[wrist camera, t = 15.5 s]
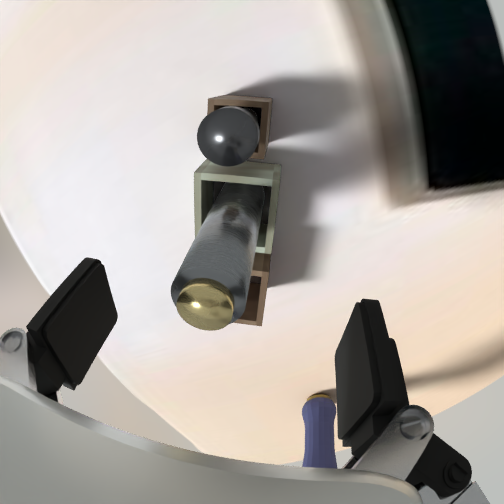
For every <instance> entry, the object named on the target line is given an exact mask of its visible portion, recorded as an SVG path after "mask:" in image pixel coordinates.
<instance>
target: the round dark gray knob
mask: <svg viewBox="0 0 504 504" xmlns="http://www.w3.org/2000/svg"><path fill="white" fill-rule="evenodd" d="M259 138H260V129H259V125H258V116H257V114H256V112H255V111H253V110H252V109H249V108H240V107H236V106H227V107H223V108H220V109H218V110H215V111H213V112H211V113H210V114H208V115H207V116H206V117H205V118H204V119H203V121H202V122H201V124H200V126H199V128H198V133H197V141H198V145H199V148H200V150H201V152H202V153H203V155H204V156H205V157H206V158H207V159H208V160H210V161H211V162H213V163H214V164H217V165H220V166H226V167H230V166H236V165H239V164H241V163H243V162H245V161H246V160H248V159H249V158H250V157H251V156H252V154H253V153H254V151H255V149H256V147H257V144H258V142H259Z"/></svg>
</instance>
